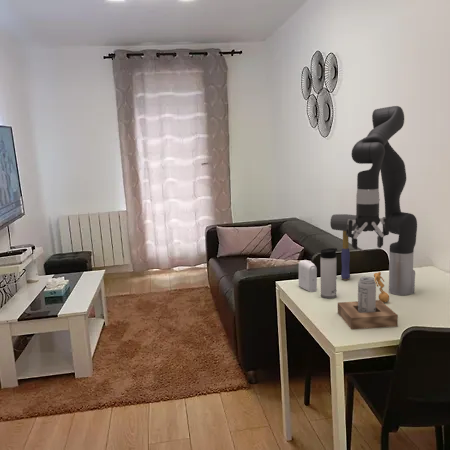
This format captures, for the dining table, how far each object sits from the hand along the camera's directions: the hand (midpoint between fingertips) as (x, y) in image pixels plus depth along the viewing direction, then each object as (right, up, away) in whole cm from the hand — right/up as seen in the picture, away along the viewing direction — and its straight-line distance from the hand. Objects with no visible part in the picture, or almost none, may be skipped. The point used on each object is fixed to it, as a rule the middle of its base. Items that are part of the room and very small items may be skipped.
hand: (367, 248), depth 171 cm
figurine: (+12, -22, +22) cm, 33 cm away
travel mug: (-7, -21, +31) cm, 38 cm away
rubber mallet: (+5, -17, +53) cm, 56 cm away
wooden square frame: (+1, -26, +5) cm, 26 cm away
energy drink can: (+1, -26, +5) cm, 26 cm away
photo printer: (-14, -20, +42) cm, 48 cm away
